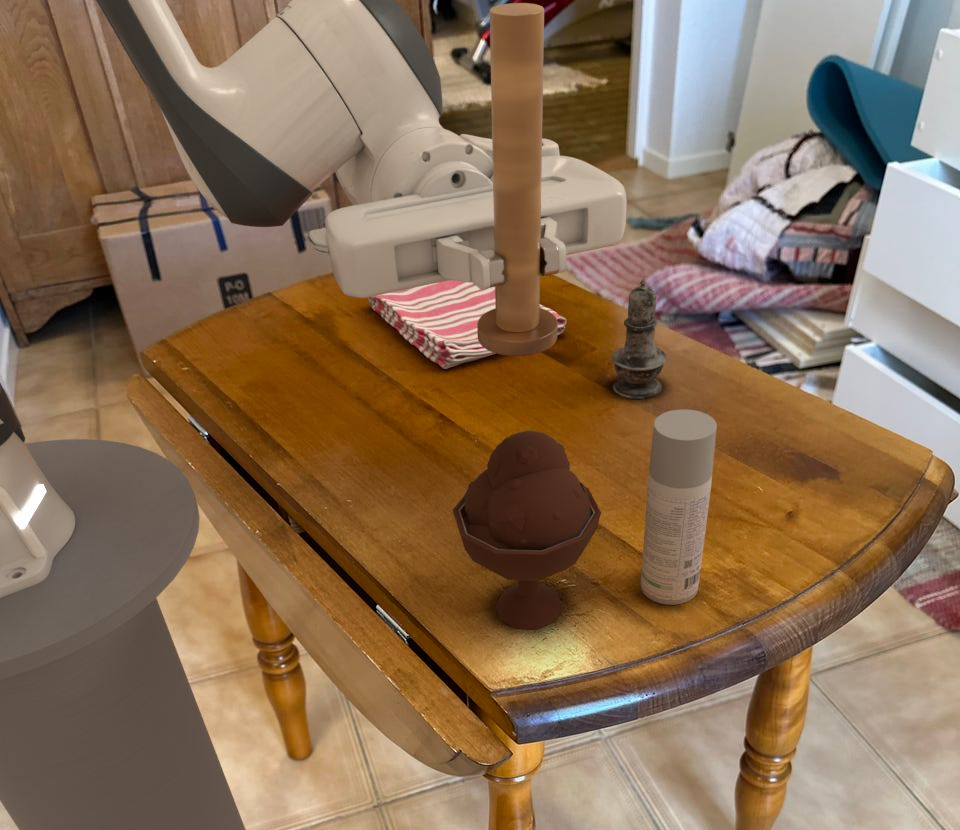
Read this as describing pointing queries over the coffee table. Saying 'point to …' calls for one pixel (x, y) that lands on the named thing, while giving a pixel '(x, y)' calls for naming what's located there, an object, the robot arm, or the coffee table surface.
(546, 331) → the stirring stick
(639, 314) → the salt shaker
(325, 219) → the robot arm
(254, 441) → the coffee table surface
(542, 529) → the ice cream bowl
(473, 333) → the dish towel
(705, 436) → the container
